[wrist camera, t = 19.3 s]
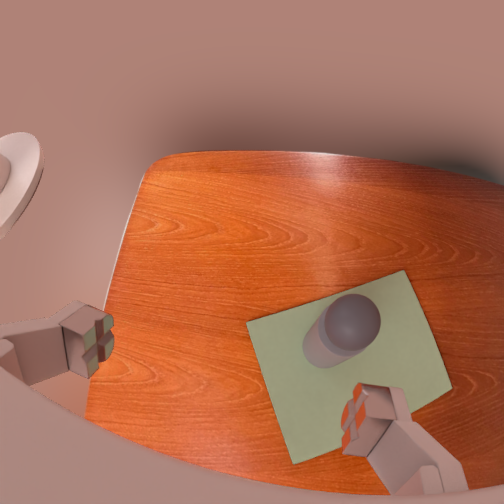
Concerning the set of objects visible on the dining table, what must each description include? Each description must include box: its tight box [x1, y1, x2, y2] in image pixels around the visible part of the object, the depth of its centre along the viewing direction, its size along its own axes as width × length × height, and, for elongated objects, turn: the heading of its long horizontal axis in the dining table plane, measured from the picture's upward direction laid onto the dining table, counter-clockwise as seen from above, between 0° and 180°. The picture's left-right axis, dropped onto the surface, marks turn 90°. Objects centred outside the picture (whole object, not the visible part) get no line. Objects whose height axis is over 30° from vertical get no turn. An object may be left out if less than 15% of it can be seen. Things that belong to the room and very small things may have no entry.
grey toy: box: [302, 294, 381, 368], centre depth 27 cm, size 5×5×12 cm
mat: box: [246, 270, 452, 464], centre depth 31 cm, size 20×16×1 cm
